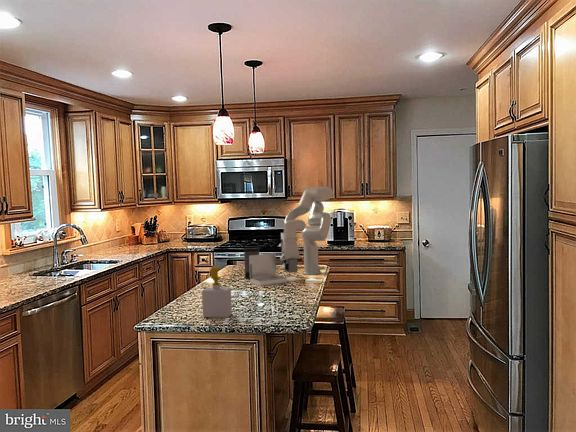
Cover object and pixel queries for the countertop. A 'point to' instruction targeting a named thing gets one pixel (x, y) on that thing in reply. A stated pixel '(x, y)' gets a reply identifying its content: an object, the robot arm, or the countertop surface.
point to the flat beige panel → (293, 279)
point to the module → (292, 265)
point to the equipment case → (264, 270)
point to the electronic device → (248, 253)
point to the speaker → (281, 247)
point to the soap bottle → (216, 298)
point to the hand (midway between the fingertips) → (290, 269)
